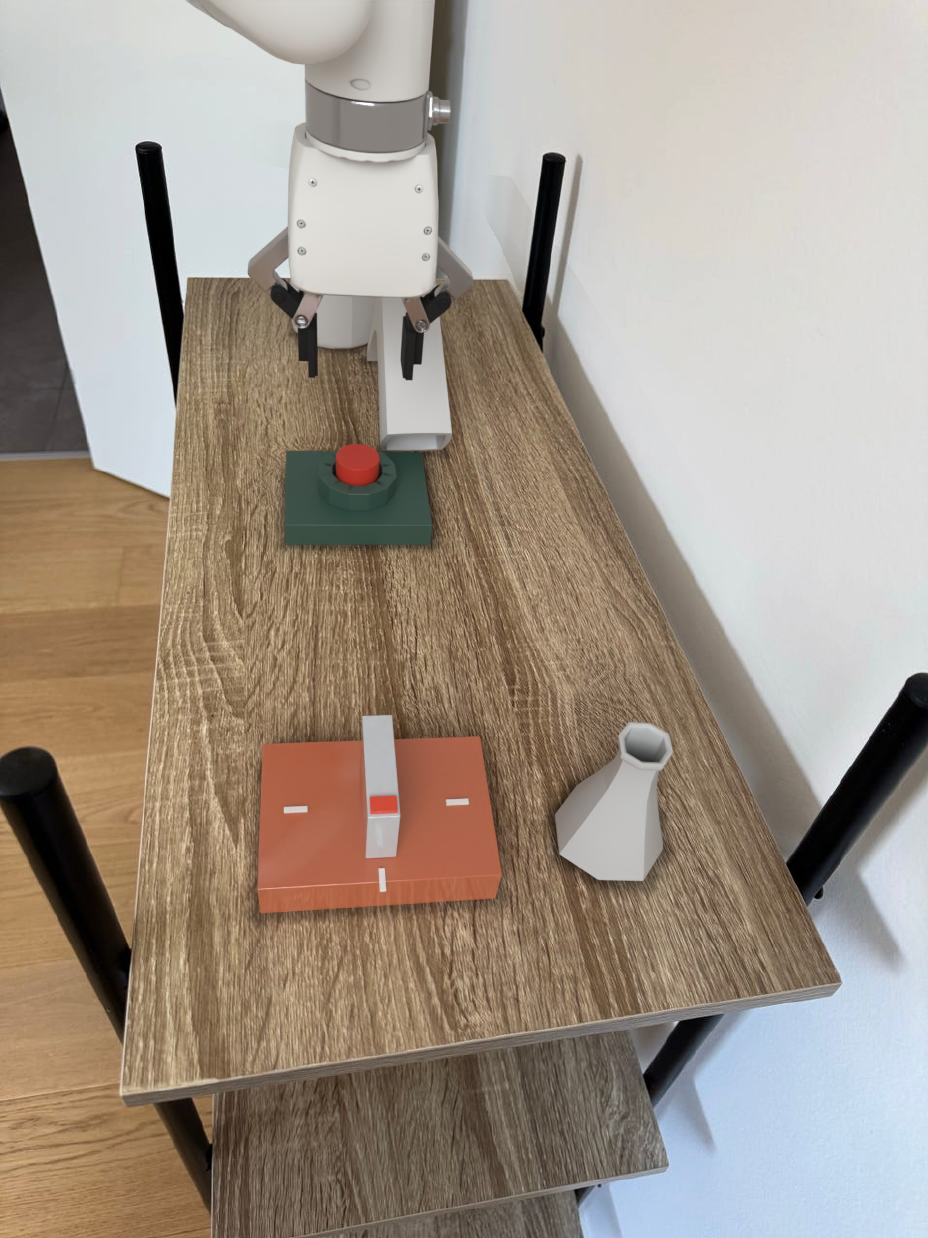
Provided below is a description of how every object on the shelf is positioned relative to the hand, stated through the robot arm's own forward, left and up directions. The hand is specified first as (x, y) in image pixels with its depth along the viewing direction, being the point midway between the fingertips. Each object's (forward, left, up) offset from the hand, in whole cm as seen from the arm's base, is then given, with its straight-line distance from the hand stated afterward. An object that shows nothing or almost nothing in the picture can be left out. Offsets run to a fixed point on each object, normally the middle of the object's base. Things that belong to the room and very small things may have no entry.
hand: (360, 367), depth 69 cm
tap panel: (0, -32, -14) cm, 35 cm away
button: (0, 0, -10) cm, 10 cm away
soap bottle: (-1, +30, -14) cm, 33 cm away
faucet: (+5, +15, -14) cm, 21 cm away
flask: (+15, -33, -14) cm, 39 cm away
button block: (0, 0, -14) cm, 14 cm away
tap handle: (0, -32, -11) cm, 34 cm away
